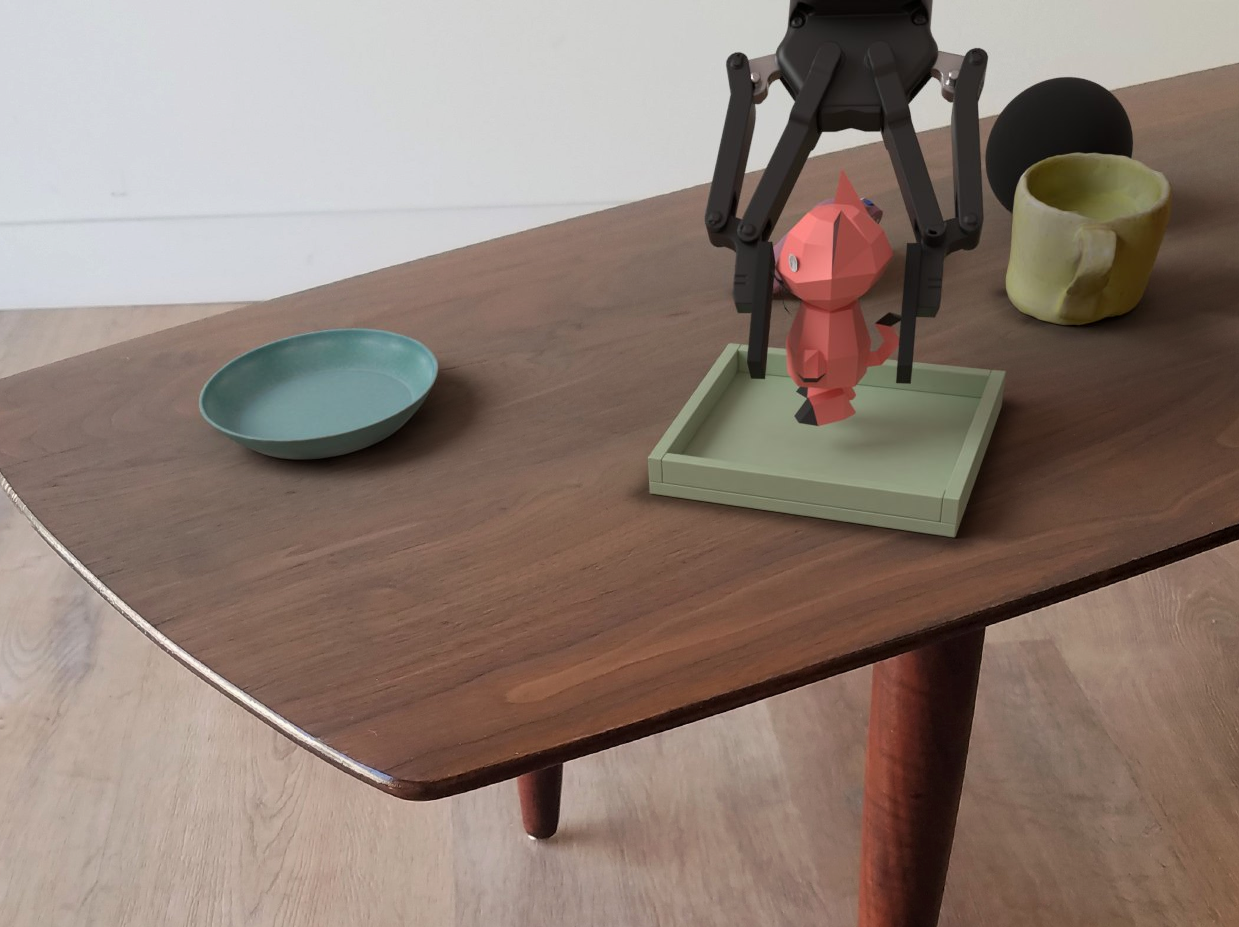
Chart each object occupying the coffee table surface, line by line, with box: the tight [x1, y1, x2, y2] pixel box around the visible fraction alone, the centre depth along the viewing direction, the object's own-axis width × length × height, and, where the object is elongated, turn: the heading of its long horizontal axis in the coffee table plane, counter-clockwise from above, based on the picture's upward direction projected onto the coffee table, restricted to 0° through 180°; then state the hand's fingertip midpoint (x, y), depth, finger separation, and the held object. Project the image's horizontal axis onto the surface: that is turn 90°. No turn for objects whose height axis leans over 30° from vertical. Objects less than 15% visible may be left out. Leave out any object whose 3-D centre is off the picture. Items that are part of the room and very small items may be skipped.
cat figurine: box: [771, 169, 901, 426], centre depth 73 cm, size 7×7×12 cm
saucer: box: [198, 327, 439, 460], centre depth 85 cm, size 15×15×3 cm
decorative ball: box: [984, 76, 1134, 215], centre depth 99 cm, size 10×10×10 cm
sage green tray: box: [647, 342, 1007, 538], centre depth 77 cm, size 17×15×2 cm
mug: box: [1005, 153, 1173, 326], centre depth 88 cm, size 12×10×10 cm
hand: (829, 372), depth 71 cm, fingers closed on cat figurine, 7 cm apart
